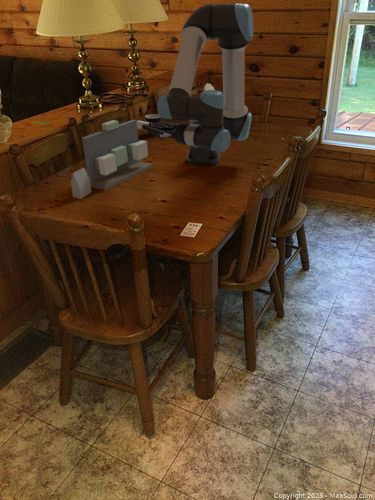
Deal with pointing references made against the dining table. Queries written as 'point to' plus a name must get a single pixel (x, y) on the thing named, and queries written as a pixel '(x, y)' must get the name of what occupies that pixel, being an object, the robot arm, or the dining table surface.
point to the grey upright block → (80, 184)
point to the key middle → (120, 155)
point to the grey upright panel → (102, 145)
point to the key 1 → (105, 164)
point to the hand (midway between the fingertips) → (138, 124)
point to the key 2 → (138, 149)
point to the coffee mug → (153, 119)
